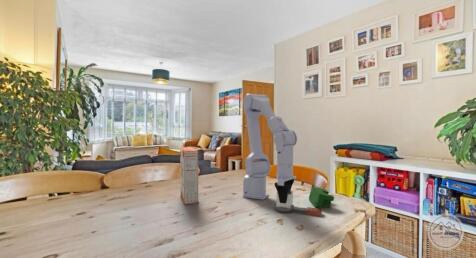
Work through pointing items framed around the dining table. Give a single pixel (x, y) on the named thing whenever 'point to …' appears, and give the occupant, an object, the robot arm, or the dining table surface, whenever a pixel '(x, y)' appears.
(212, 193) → the dining table surface
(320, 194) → the clamp
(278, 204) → the socket
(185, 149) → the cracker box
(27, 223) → the dining table surface
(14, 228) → the dining table surface
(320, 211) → the ratchet
